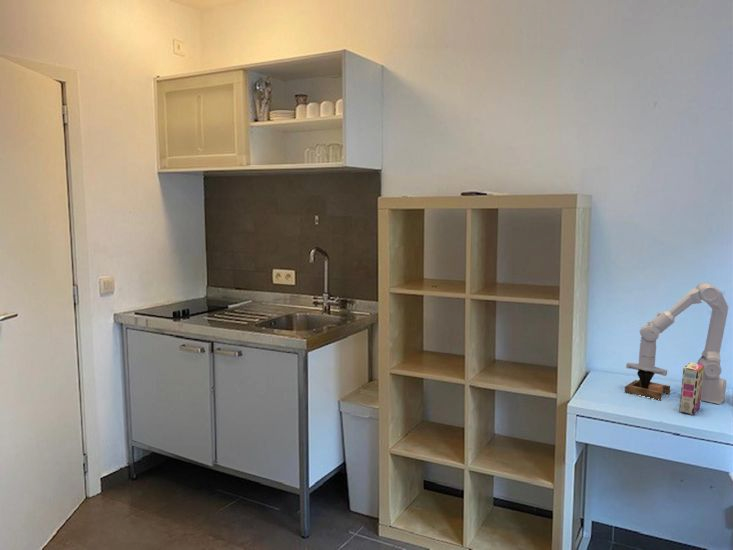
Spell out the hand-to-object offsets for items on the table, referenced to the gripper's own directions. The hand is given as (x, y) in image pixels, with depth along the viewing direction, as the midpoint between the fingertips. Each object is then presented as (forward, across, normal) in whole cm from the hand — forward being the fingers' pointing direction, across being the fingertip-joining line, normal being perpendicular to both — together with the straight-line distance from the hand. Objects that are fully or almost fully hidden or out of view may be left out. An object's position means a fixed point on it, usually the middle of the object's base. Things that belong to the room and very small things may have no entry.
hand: (644, 389), depth 232 cm
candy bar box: (+1, -18, +9) cm, 20 cm away
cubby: (+1, -1, 0) cm, 2 cm away
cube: (+1, -4, 0) cm, 4 cm away
